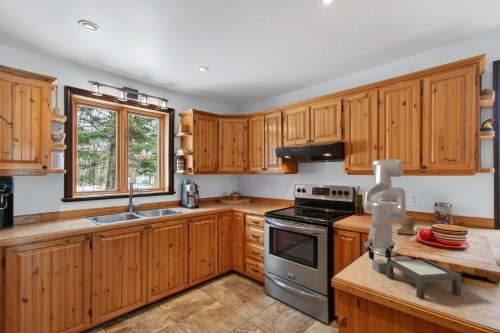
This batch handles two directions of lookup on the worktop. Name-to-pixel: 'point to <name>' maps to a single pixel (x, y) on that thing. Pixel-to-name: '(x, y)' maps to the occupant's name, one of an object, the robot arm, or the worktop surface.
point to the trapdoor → (418, 266)
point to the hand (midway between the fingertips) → (379, 258)
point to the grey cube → (380, 266)
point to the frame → (427, 276)
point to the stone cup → (407, 225)
